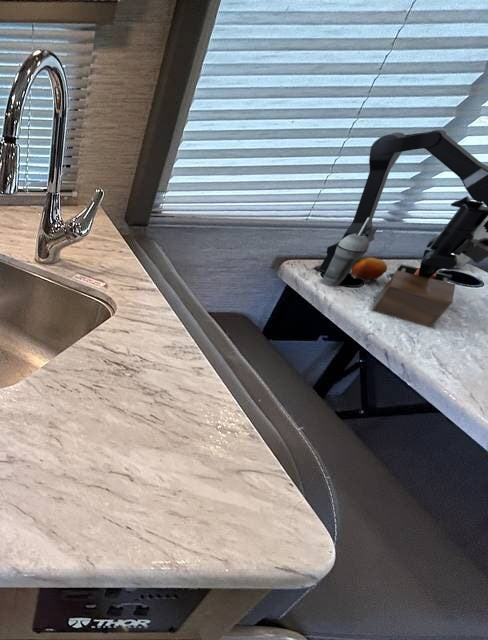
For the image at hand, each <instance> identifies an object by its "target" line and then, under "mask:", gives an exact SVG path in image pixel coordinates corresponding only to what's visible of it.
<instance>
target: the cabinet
mask: <svg viewBox="0 0 488 640" xmlns="http://www.w3.org/2000/svg"><path fill="white" fill-rule="evenodd" d="M455 289H456V283H453V282H449V281H448V282H444V281H440V280H436V279H431V278H427V277H423V276H419V275H414V274H410V273H406V272H401V271H397V270H395V272H394V273H393V274H392V275H391V278H390V279H389V280H388V281H387V283H386V284H385V286H384V287H383V288H382V289H381V291H380V293H379V295H378V297H377V299H376V301H375V304H374V306H373V308H372V311H374V312H377V313H380V314H384V315H388V316H390V317H394V318H398V319H401V320H405V321H409V322H413V323H415V324H420V325H423V326H427V327H429V328H431V327H433V325H434V324H435V323H436V322H437V321H438V319H440V317H441V316H442V315H443V314H444V313H445V311H447V309H448V308H449V307H450V306H451V305H452V304H453V302H454V294H455Z"/></svg>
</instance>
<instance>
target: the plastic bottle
mask: <svg viewBox="0 0 488 640" xmlns="http://www.w3.org/2000/svg"><path fill="white" fill-rule="evenodd" d="M487 221H488V216H487V217H486V219H485V220H484V221H483V222H482V224H481V225H480V226H479V227H478V229H477V230H476V231H475V232H474V235H473V236H474V239H477V240H479V239H483V238H487V237H488V232H486V229H485V227H483V226H484V224H485V223H486V222H487ZM451 254H452V255H455V254H453V253H451ZM456 257H457V259H458V261H457V264H456V265H455V266H454V268H453V269H460V268H463V267H465V266H466V265H467V264H469V263H470V260H472V259H471V258H469V257H468V256H466V255H464V254H463V253H461V254H460V255H456Z"/></svg>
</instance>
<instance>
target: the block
mask: <svg viewBox="0 0 488 640" xmlns="http://www.w3.org/2000/svg"><path fill="white" fill-rule="evenodd" d="M417 268H418V269H417V271H416V272H415V273H414V275H419V270H420V267H417ZM437 272H438V271H437ZM437 272H436V273H437ZM436 273H434V274H433V275H432V276H431V277H429V278H431V279H434V278H435V277H436Z"/></svg>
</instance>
